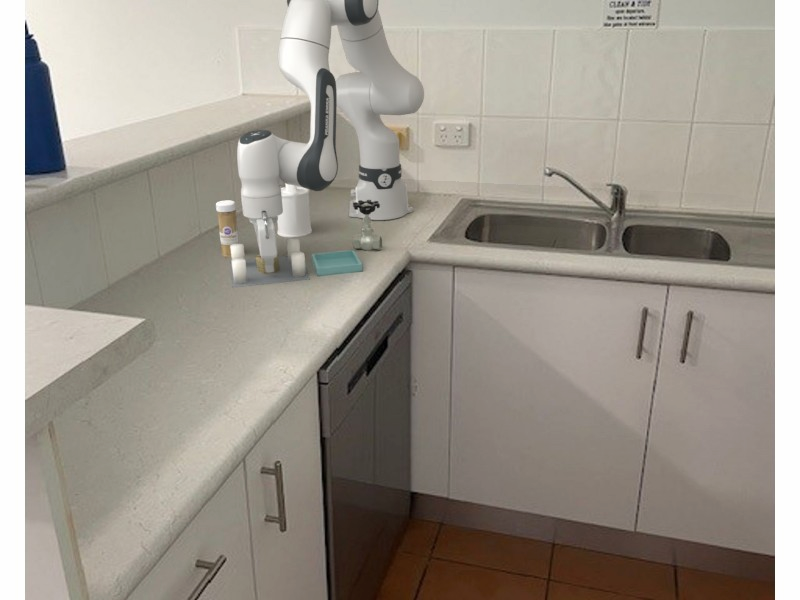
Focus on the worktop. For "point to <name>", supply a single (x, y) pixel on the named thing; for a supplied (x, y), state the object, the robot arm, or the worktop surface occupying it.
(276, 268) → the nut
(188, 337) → the worktop surface
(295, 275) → the cylinder
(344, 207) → the worktop surface
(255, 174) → the robot arm
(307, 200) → the white spouted canister
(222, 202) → the sprinkles bottle
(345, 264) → the tray
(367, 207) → the valve
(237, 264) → the spacer
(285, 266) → the mat
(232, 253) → the spacer
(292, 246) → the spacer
